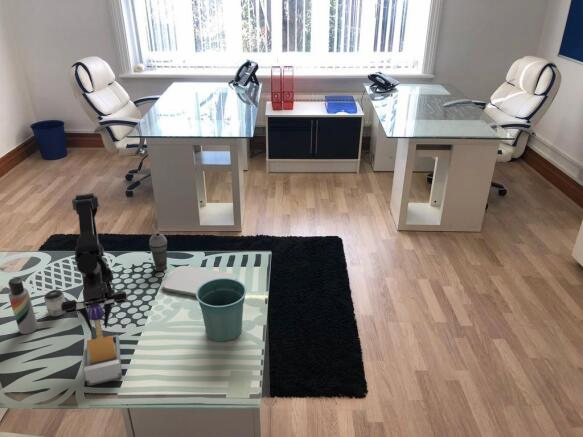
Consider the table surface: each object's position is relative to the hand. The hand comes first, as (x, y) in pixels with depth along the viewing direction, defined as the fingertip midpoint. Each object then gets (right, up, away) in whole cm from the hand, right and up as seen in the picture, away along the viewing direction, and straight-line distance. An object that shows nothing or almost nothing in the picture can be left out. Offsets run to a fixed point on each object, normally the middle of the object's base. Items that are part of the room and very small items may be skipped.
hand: (98, 329), depth 147 cm
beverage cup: (+5, +14, +51) cm, 53 cm away
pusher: (+1, -11, +2) cm, 11 cm away
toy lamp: (-1, -7, +5) cm, 9 cm away
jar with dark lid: (-24, +1, +24) cm, 34 cm away
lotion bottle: (-30, -4, +16) cm, 34 cm away
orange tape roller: (+1, -11, +2) cm, 11 cm away
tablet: (+23, +8, +41) cm, 48 cm away
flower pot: (+36, -4, +17) cm, 40 cm away
